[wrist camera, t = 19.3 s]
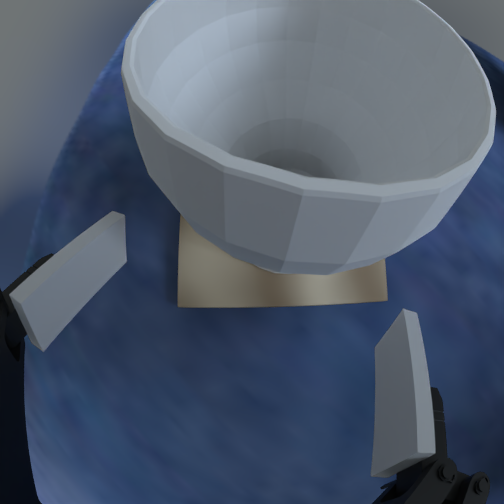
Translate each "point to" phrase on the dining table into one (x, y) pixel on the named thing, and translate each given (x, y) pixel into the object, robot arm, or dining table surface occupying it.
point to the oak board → (264, 280)
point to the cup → (306, 124)
